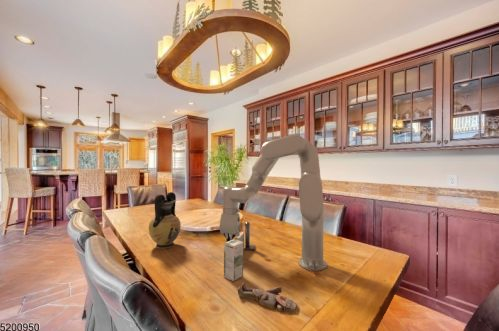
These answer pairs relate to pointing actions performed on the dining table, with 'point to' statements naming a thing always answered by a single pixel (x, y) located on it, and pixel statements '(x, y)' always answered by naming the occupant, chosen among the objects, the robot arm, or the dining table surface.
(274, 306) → the figurine
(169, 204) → the amphora
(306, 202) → the robot arm
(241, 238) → the gate leaf
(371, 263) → the dining table surface
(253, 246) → the gate post
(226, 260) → the syrup box
